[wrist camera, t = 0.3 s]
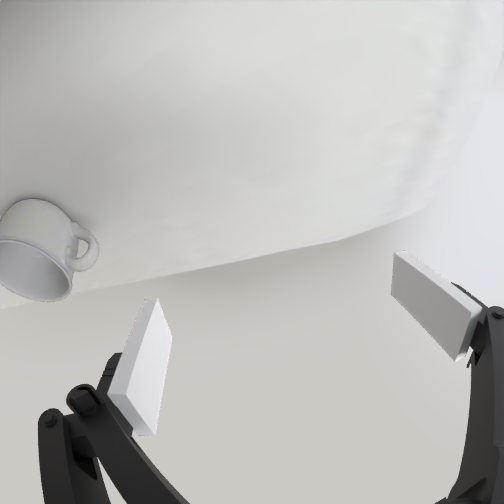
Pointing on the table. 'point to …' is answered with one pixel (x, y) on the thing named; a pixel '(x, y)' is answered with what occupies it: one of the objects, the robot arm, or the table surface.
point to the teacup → (42, 250)
